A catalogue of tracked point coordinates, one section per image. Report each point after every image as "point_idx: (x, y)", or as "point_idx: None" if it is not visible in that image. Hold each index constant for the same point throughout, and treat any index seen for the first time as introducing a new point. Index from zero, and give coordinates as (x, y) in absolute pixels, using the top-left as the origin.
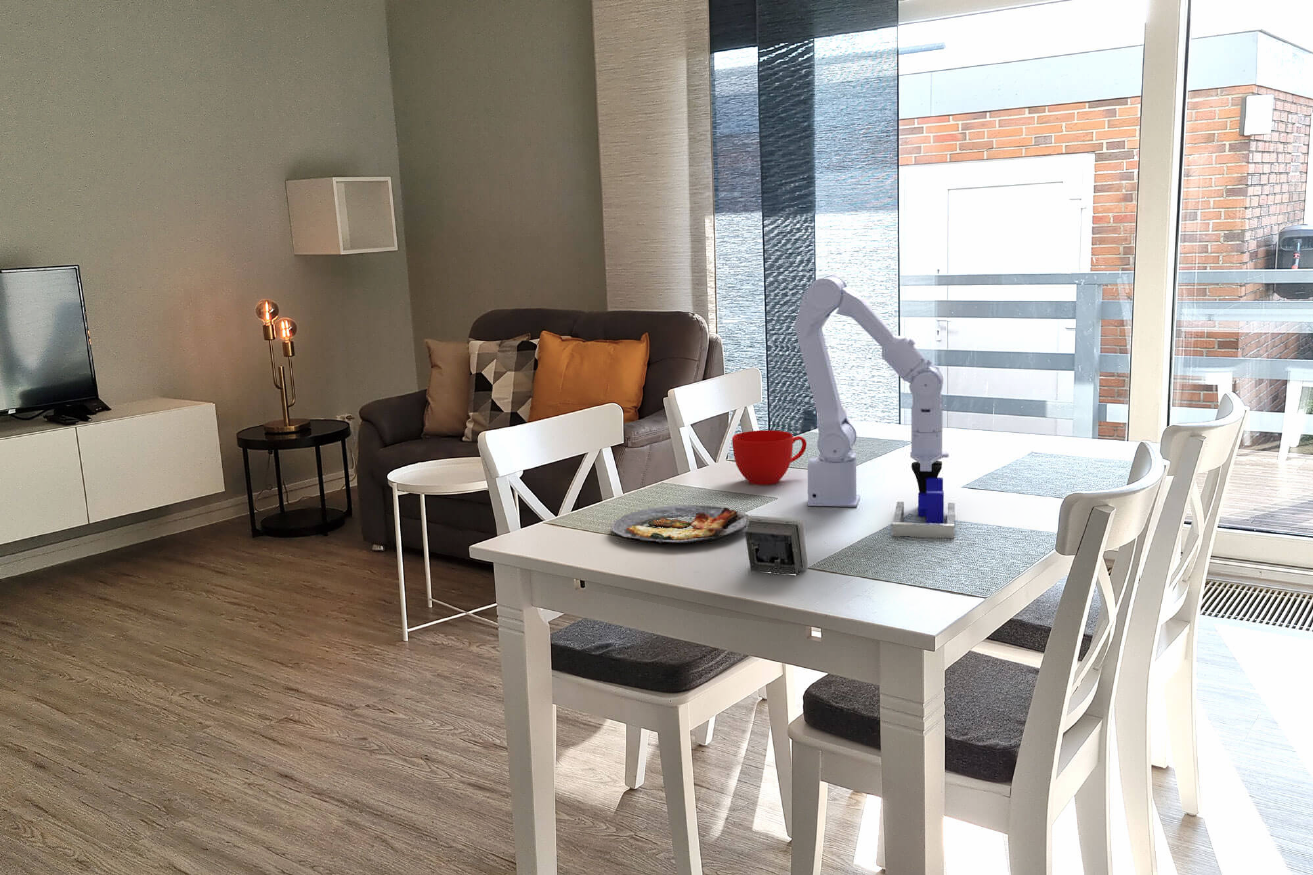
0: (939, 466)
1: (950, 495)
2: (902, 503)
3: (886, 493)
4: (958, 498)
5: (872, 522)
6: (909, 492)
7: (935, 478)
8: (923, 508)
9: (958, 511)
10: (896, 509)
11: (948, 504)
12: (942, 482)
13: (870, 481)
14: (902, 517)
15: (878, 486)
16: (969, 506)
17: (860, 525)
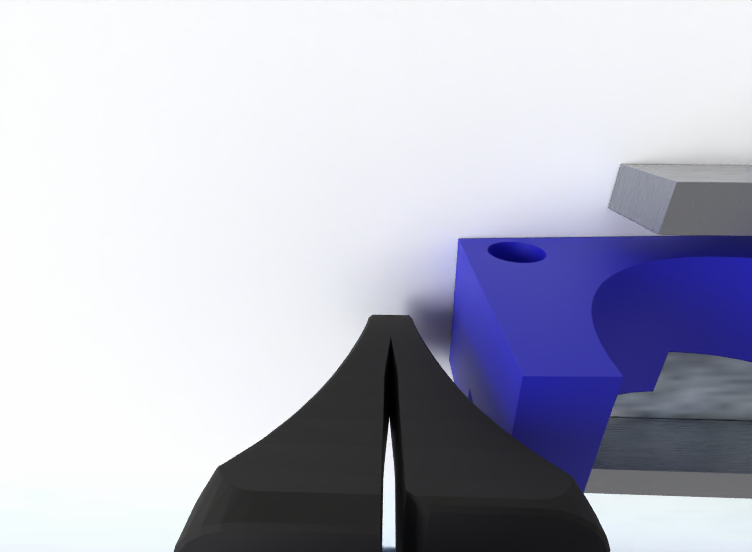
0: (508, 535)
1: (116, 190)
2: (613, 472)
3: (190, 474)
4: (179, 134)
5: (683, 508)
6: (134, 396)
7: (562, 439)
8: (659, 366)
9: (540, 135)
10: (740, 494)
11: (714, 230)
12: (608, 356)
13: (9, 521)
14: (687, 429)
15: (79, 499)
16: (398, 46)
17: (717, 537)
